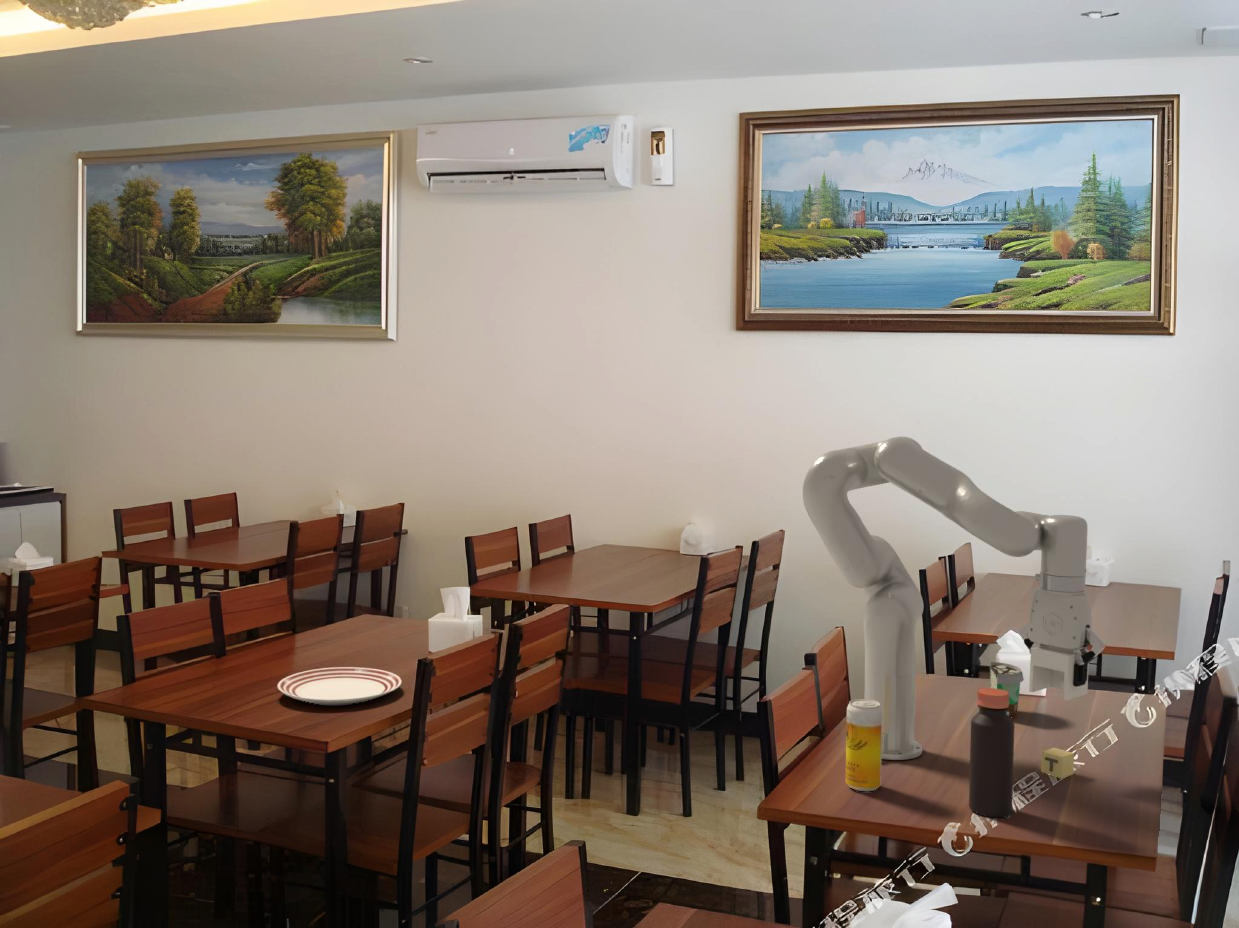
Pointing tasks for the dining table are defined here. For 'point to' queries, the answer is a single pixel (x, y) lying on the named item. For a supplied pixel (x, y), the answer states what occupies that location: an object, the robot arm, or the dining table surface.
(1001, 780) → the bottle
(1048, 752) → the letter cube
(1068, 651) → the cover
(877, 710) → the beer can
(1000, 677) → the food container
